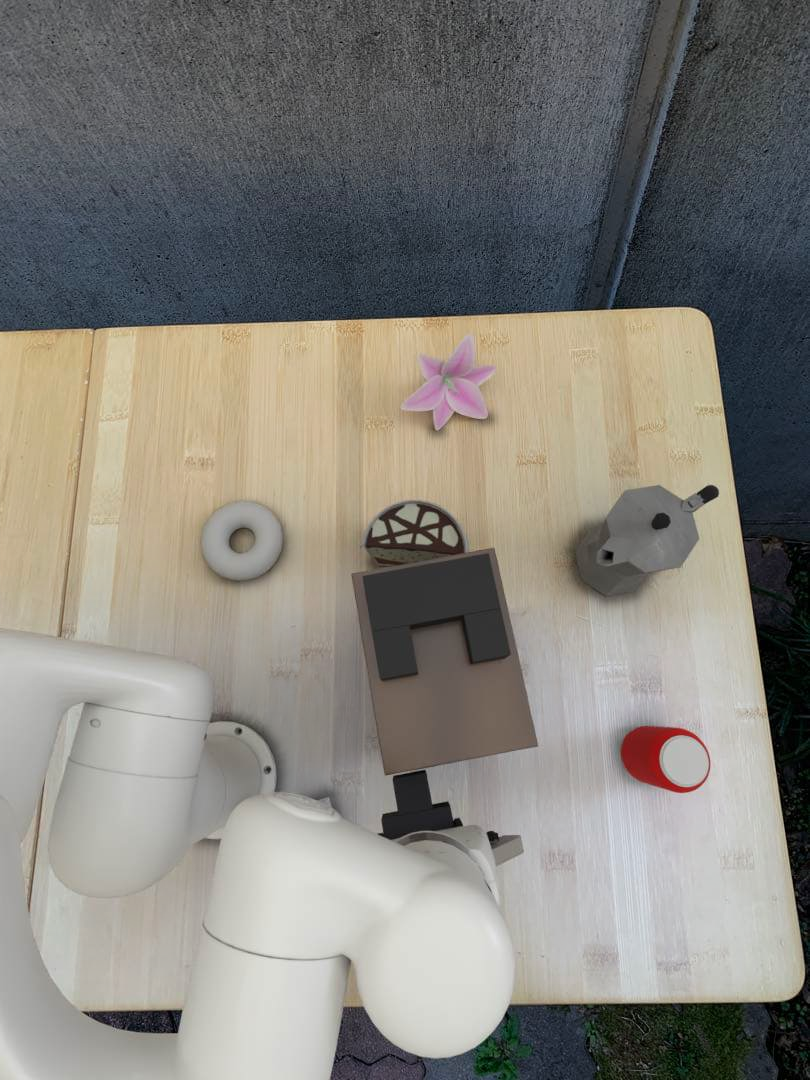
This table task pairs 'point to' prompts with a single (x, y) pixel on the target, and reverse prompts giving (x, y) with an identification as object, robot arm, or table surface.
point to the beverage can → (666, 758)
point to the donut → (252, 560)
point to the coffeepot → (640, 538)
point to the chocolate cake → (413, 534)
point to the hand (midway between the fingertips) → (421, 844)
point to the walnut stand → (446, 692)
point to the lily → (451, 385)
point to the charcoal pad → (415, 808)
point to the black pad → (434, 611)
